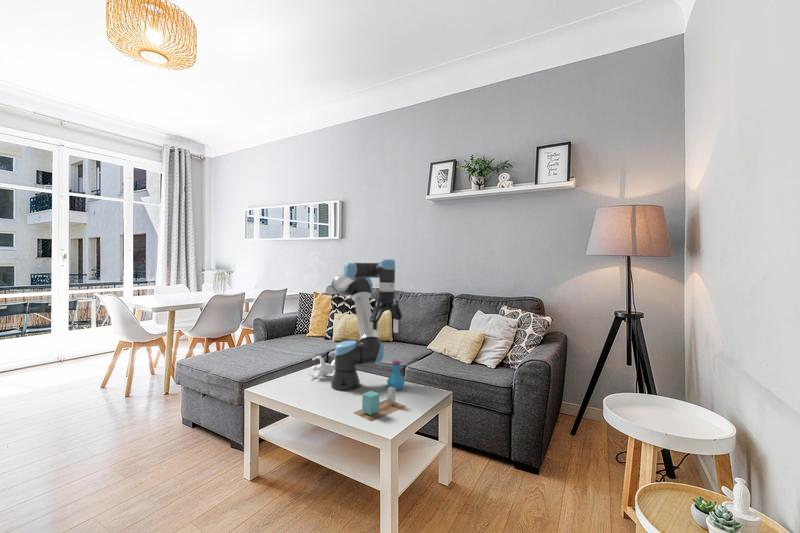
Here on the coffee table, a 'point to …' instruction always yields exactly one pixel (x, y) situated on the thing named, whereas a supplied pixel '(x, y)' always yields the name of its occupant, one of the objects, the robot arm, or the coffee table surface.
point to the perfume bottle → (396, 377)
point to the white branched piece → (323, 367)
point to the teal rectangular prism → (370, 402)
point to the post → (391, 396)
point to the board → (380, 411)
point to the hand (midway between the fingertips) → (386, 334)
